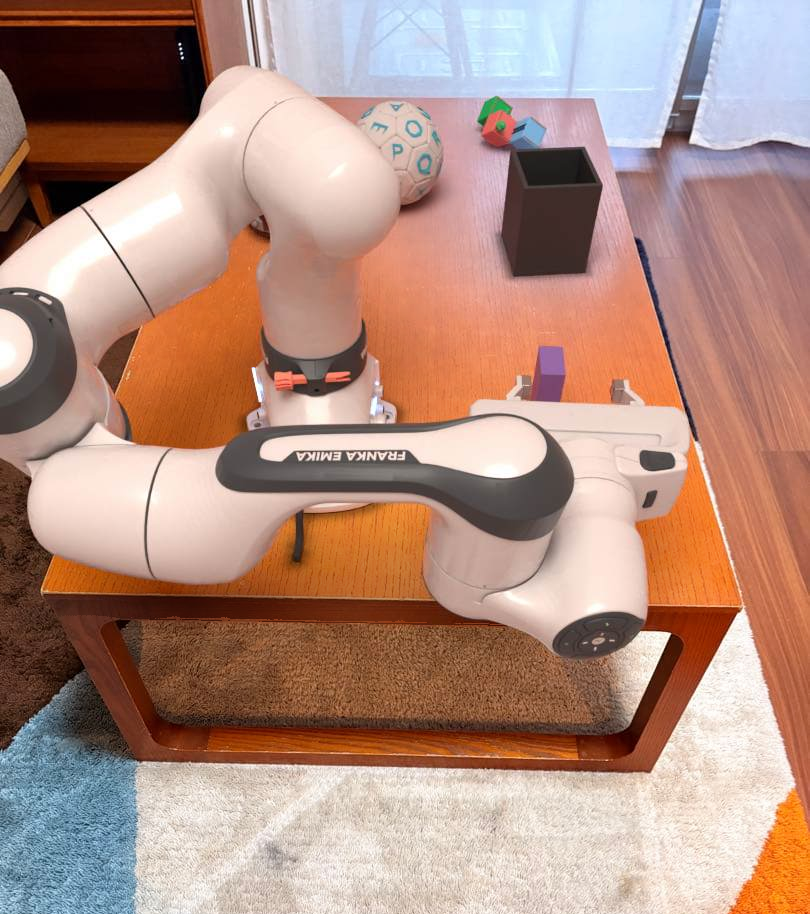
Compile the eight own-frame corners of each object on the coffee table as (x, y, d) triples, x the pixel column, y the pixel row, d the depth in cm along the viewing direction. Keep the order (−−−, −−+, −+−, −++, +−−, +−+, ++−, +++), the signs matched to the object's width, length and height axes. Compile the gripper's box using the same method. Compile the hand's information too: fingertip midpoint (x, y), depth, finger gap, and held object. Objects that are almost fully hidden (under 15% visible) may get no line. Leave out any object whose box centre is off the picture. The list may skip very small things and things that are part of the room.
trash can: (585, 272, 123) (603, 185, 112) (513, 276, 123) (524, 188, 112) (569, 232, 130) (584, 146, 119) (501, 235, 129) (510, 149, 119)
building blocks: (501, 165, 152) (540, 149, 142) (467, 140, 148) (504, 123, 138) (516, 125, 152) (556, 107, 142) (483, 100, 148) (521, 79, 138)
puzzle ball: (349, 223, 131) (344, 128, 120) (352, 175, 141) (347, 83, 129) (443, 223, 132) (448, 128, 120) (439, 175, 141) (443, 83, 129)
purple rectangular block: (551, 444, 101) (565, 374, 92) (528, 443, 101) (541, 373, 92) (549, 415, 104) (562, 346, 95) (527, 415, 104) (538, 345, 95)
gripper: (461, 504, 75) (463, 401, 83) (686, 514, 74) (665, 410, 83) (466, 456, 70) (467, 352, 78) (707, 467, 69) (682, 361, 78)
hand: (570, 382), depth 81 cm, fingers open, 8 cm apart
